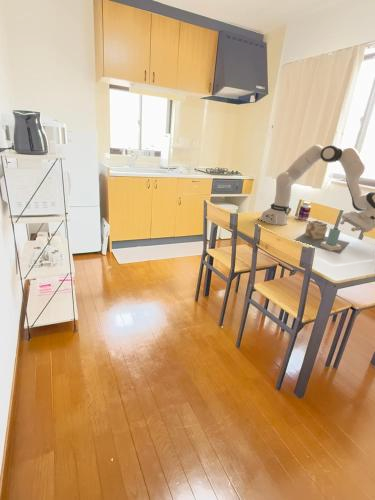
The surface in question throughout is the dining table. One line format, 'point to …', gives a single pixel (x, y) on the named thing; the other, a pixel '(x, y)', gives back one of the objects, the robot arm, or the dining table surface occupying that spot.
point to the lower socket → (330, 246)
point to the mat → (317, 242)
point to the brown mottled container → (316, 229)
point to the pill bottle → (304, 211)
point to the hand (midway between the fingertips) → (346, 226)
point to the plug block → (333, 236)
